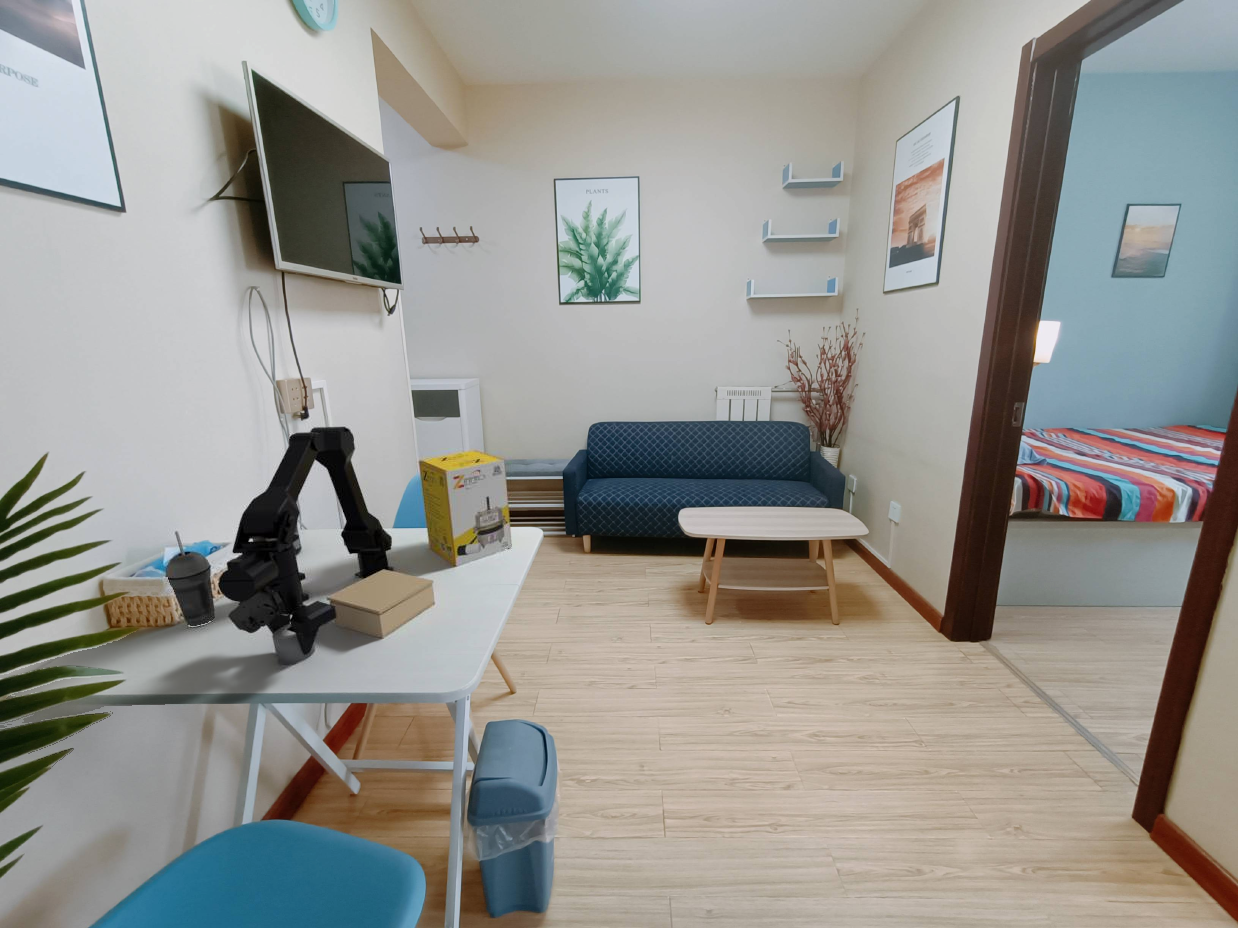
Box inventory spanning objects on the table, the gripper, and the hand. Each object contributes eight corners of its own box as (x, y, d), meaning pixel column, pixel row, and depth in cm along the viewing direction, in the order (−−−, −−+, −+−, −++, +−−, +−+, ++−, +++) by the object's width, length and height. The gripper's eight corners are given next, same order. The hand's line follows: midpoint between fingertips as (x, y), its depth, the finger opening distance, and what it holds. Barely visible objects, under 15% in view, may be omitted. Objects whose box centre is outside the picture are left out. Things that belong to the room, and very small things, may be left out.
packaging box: (482, 532, 153) (475, 449, 147) (512, 547, 141) (504, 459, 135) (429, 548, 143) (418, 460, 136) (456, 566, 131) (445, 471, 125)
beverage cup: (187, 635, 104) (163, 542, 98) (173, 625, 107) (148, 535, 102) (229, 617, 110) (208, 529, 104) (214, 608, 113) (192, 523, 108)
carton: (333, 623, 106) (329, 601, 105) (387, 592, 119) (384, 572, 118) (383, 638, 101) (379, 615, 100) (434, 603, 113) (432, 583, 112)
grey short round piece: (270, 660, 95) (264, 635, 94) (301, 642, 100) (296, 618, 99) (291, 667, 93) (286, 642, 91) (322, 649, 98) (317, 625, 97)
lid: (327, 599, 105) (326, 597, 105) (383, 571, 118) (383, 569, 117) (379, 614, 99) (379, 611, 99) (433, 582, 112) (433, 580, 112)
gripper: (198, 583, 89) (218, 662, 93) (267, 604, 81) (286, 689, 85) (263, 557, 99) (279, 630, 103) (331, 574, 91) (345, 651, 95)
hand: (295, 649), depth 96 cm, fingers closed on grey short round piece, 6 cm apart
